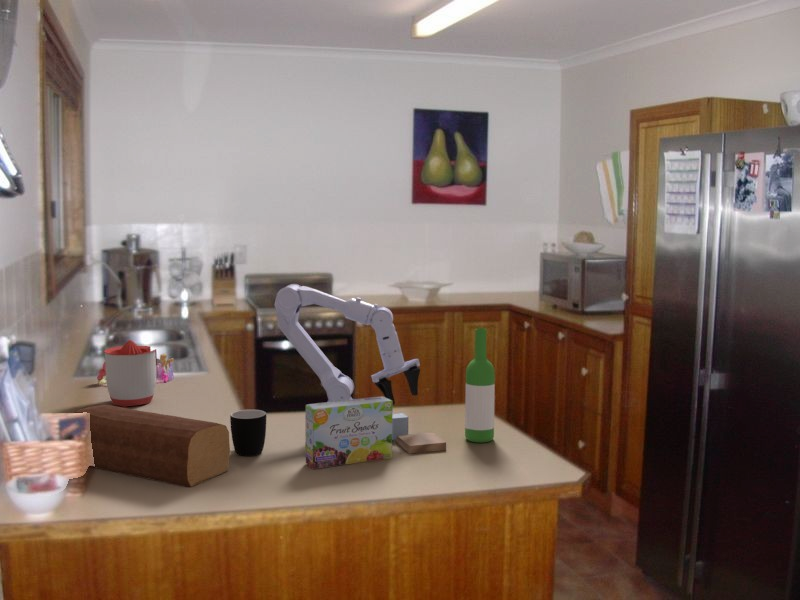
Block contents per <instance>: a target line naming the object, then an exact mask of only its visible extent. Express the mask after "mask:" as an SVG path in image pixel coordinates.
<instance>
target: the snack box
mask: <svg viewBox="0 0 800 600" xmlns="http://www.w3.org/2000/svg"><path fill="white" fill-rule="evenodd" d="M393 406H394V405H393V401H392V400H390V399H388V398H386V397H385V396H384V395H381V396H371V397H364V398H352V400H343V401H334V402H328V401H327V402H317V403H315V402H314V403H308V404H305V414H304V415H305V417H304V418H305V422H304V423H305V433H304V434H305V447H304V448H305V464H307V465H308V466H309V467H310V468H311V469H312V470H317V469H322V468H330V467H331V468H332V467H336V466H345V465H351V464H359V463H364V462H365V463H367V462H373V461H379V460H386V459H391V458H392V456H393V440H392V414H393V409H394V407H393Z"/></svg>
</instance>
